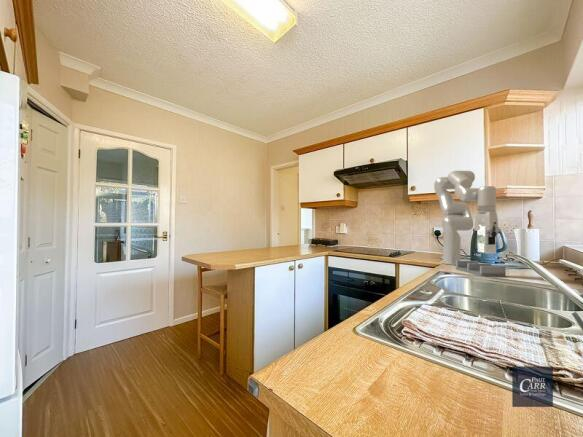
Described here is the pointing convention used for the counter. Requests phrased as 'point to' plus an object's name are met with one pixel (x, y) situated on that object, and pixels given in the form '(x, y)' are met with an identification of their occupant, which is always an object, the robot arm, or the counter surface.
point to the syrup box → (484, 242)
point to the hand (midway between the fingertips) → (486, 243)
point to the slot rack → (480, 268)
